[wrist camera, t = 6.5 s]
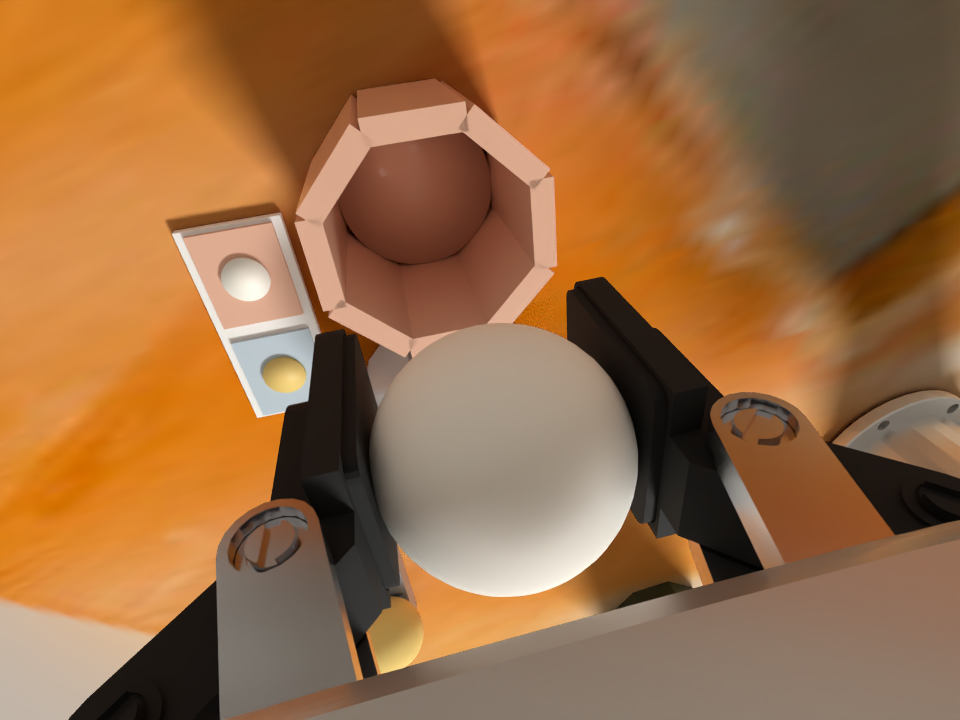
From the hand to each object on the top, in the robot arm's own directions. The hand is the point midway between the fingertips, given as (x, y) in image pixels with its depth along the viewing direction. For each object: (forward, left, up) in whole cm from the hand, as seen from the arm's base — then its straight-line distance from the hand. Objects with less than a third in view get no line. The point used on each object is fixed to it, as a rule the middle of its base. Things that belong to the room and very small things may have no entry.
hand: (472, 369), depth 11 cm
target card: (+8, +5, -14) cm, 17 cm away
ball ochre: (+7, +27, -13) cm, 30 cm away
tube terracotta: (0, 0, -14) cm, 14 cm away
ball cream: (0, 0, 0) cm, 0 cm away
